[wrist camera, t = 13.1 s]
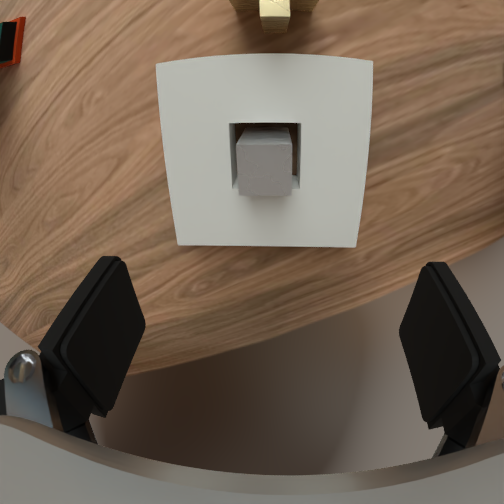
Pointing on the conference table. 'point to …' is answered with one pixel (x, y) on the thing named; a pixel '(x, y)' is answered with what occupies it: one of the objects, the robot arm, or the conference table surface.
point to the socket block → (256, 111)
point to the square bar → (264, 162)
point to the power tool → (11, 41)
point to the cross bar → (274, 11)
